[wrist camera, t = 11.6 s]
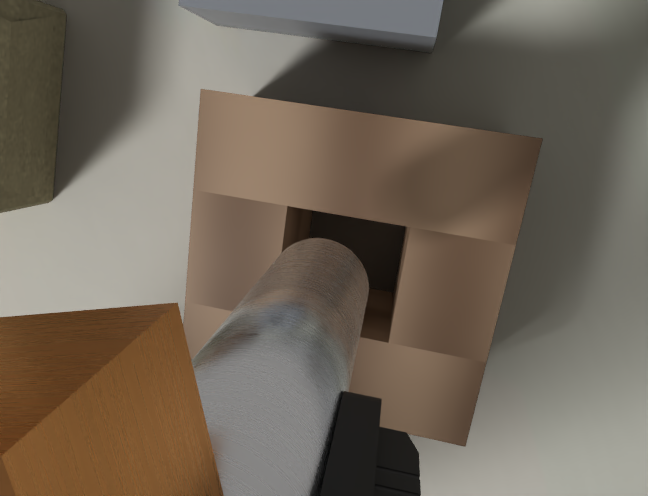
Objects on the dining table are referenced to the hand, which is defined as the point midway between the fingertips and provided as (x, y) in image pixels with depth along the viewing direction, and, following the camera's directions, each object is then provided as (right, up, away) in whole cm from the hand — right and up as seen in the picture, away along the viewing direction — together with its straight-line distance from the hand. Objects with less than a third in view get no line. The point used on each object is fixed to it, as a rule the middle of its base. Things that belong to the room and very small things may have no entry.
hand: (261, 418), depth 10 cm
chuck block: (+3, +4, +15) cm, 16 cm away
